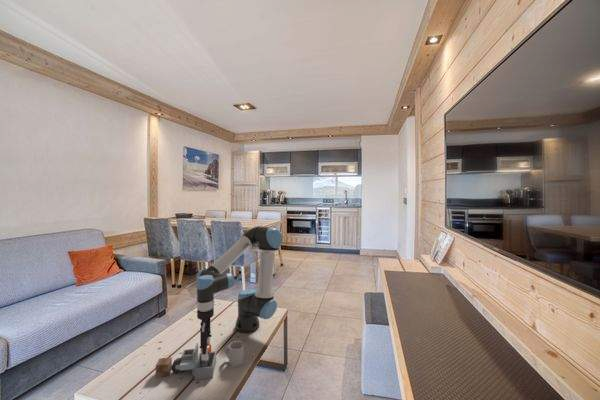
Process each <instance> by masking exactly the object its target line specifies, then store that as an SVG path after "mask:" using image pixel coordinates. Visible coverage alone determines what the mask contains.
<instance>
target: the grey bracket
mask: <svg viewBox="0 0 600 400" xmlns="http://www.w3.org/2000/svg"><path fill="white" fill-rule="evenodd" d="M198 357H199V343H198V342H196V344H195V347H194V348H189V349H183V352H182V354H181V357H178V358H176V359H174V361H173V362H172V367H171V368H172V370H171V372H173V373H175V374H181V373H182V372H184V371H187V370H188V371H189V370H192V371H191V372H192V376H193V377H195V366H196V363H197V360H198Z"/></svg>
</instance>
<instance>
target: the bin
mask: <svg viewBox="0 0 600 400" xmlns="http://www.w3.org/2000/svg"><path fill="white" fill-rule="evenodd" d="M216 364H217V351H211V353H210V354H209V367H203V360H202V359H201V352H200V353H198V360H197V363H196V366H195V375H194V381H195V380H197V381H198V380H203V379H204V380H205V379H213V378H214V373H215V368H216Z"/></svg>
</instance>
